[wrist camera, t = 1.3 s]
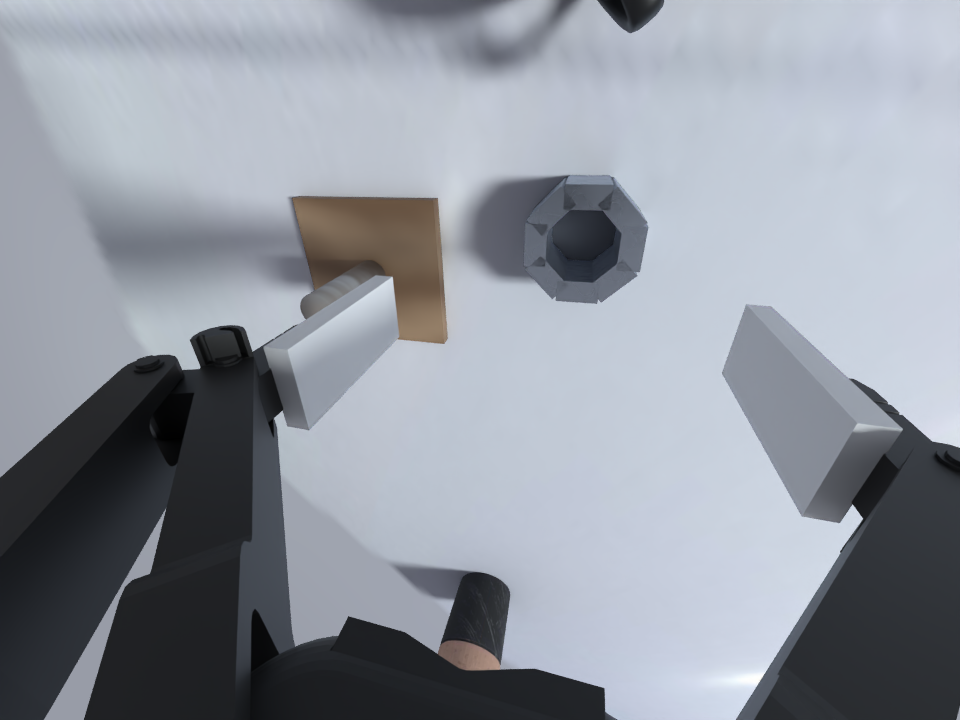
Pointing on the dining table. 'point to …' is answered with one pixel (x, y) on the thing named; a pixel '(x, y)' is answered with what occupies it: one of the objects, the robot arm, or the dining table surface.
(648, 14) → the mug
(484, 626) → the travel mug
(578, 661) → the dining table surface
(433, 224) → the shaft stand
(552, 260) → the ring
